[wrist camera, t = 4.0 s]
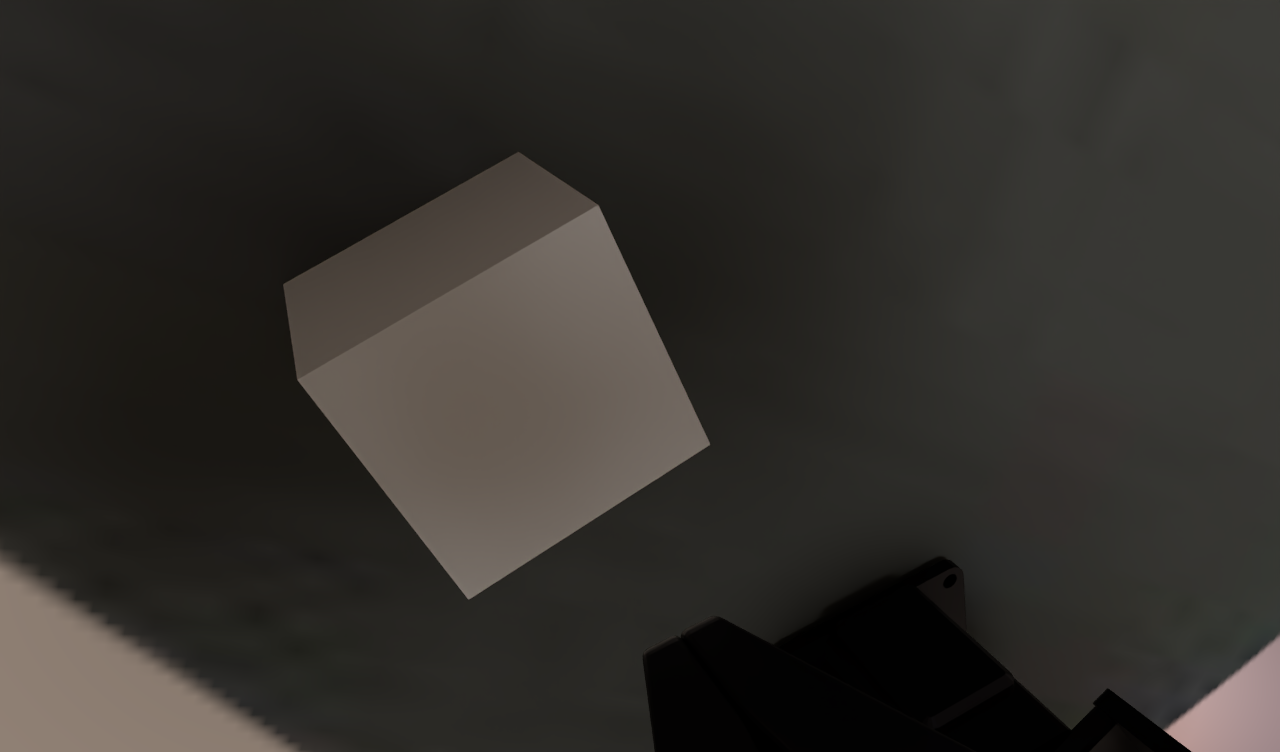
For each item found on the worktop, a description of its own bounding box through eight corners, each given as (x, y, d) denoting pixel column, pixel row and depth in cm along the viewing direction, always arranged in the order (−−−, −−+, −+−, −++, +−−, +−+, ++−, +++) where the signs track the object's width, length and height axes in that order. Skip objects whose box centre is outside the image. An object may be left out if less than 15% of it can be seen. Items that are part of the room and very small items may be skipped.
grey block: (618, 351, 19) (710, 444, 16) (421, 472, 19) (468, 599, 15) (517, 151, 17) (598, 205, 13) (282, 281, 16) (297, 380, 12)
